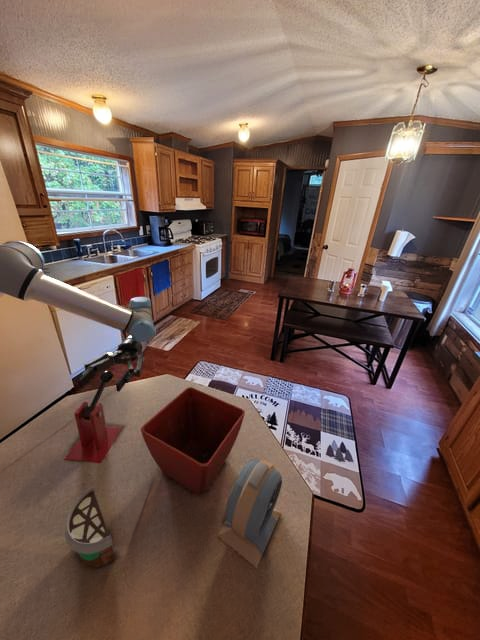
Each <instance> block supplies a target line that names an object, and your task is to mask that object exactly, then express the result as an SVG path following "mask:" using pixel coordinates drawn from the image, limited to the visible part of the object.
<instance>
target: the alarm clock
mask: <svg viewBox="0 0 480 640" xmlns="http://www.w3.org/2000/svg"><path fill="white" fill-rule="evenodd" d="M282 484H283V477H282V475H281V473H280V471H279V470H277V469H276V467H275V465H273V464H272V463H270V462H268V461H266V460H265V459H263V460H261V459H258V458H255V459H253V458H252V459H250V461H248V462H247V463H246V464H245V465H244V467H242V469H241V471H240V473H239V474H238V475H237V478H236V479H235V481H234V484H233V486H232V488H231V490H230V493H229V495H228V499H227V502H226V508H225V516H226V519H225V521H224V523H223V526H222V528H220V531H219V532H218V533H217V537H218V538H219V539H220V538H221V539H220V540H221V541H223V540H224V541H225V542H226V543H227V544H226V543H225V542H224V541H223V542H224V543H225V544H226V545H228V546H229V547H230V546H231V547H232V548H233V550H234V552H236V551H237V552H238V553H237V552H236V553H237V554H238V555H239V556H241V555H242V556H243V557H244V558H243V557H242V556H241V557H242V558H243V559H245V560H246V561H247V560H248V561H249V562H248V561H247V562H248V563H249V564H250V565H252V564H253V565H254V566H255V567H254V566H253V565H252V566H253V567H254V568H255V569H258V566H259V564H260V562H261V559H262V558H263V555H264V552H265V550H266V548H267V546H268V544H269V540H270V539H271V537H272V534H273V531H274V529H275V527H276V525H277V522H278V520H279V518H280V516H281V514H282V513H281V511H280V510H278V509H277V508H275V507H276V505H277V502H278V498H279V496H280V493H281V489H282ZM231 547H230V548H231ZM232 548H231V549H232Z"/></svg>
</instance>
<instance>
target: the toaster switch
mask: <svg viewBox="0 0 480 640" xmlns="http://www.w3.org/2000/svg"><path fill="white" fill-rule="evenodd" d="M86 406H89V402H88V401H83V403H82V404H81V405H79V407H78V408H77V409H76V411H75V412H74V413H73V414H74V419H75V423H76V427H77V432H78V437H79V438H78V440H77V441H76V443H75V444H73V445H74V446H72V448H71V449H70V450H69V452H68V453H67V454H66V456H65V457H64V458H63V460H66V461H74V462H86V463H95V464H102V463H103V461H104V459H105V457H106V456H107V454H108V452H109V451H110V450H111V447H112V446H113V444H114V442H115V441H116V439H117V437H118V436H119V434H120V433H121V431H122V429H123V427H121V426H111V425H109V426H108V425H107V423H106V419H105V418H106V417H105V413H104V406H103V403H102V402H98V403H97V405H96V407H95V408H94V409H93V411H92V412H91V413H90V414H89V415H90V420H85V419H84V418H83V417H82V414H83V412H84V410H85V408H86Z"/></svg>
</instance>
